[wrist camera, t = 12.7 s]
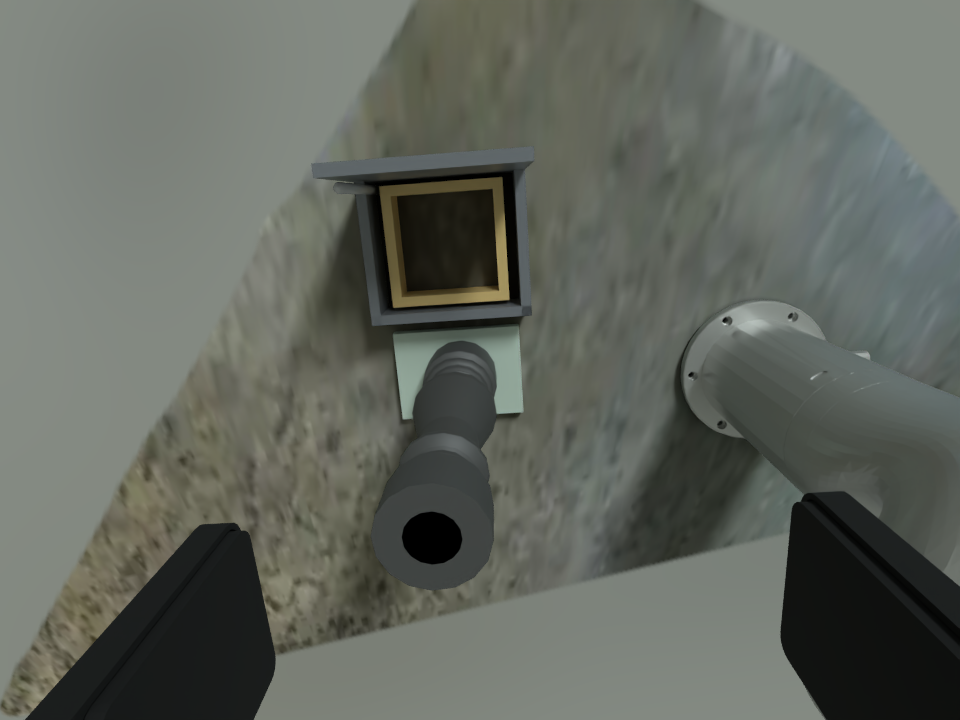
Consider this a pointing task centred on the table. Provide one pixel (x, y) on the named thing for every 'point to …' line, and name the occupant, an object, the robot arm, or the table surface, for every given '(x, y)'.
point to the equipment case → (365, 176)
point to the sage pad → (422, 344)
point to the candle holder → (443, 477)
